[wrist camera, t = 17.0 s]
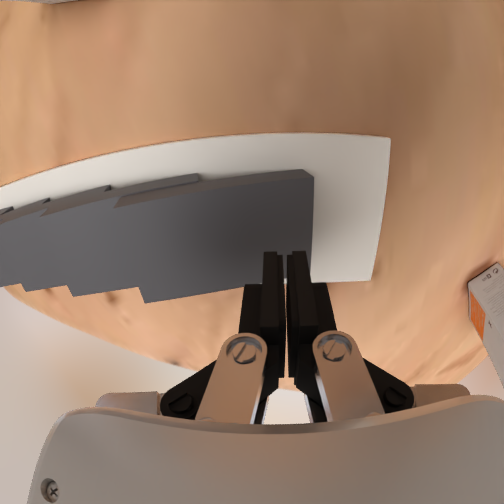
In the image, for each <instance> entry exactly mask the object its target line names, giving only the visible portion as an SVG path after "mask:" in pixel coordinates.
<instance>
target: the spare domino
mask: <svg viewBox="0 0 504 504" xmlns="http://www.w3.org/2000/svg"><path fill="white" fill-rule="evenodd" d="M110 190H111V187H110V185H106V186H102V187H98V188H94V189H90V190H87V191H83V192H80V193H76V194H73V195H69V196H66V197H62V198H59V199H56V200H53V201H50V202H46V203H43V204H40V205H37V206H34V207H32V208H29V209H26V210H23V211H20V212H18V213H15V214H12V215H9V216H7V217H5V218H4V219H3V220H2V221H1V222H0V239H1V241H2V244H3V246H4V249H5V251H6V253H7V255H8V258H9V260H10V262H11V264H12V266H13V268H14V270H15V272H16V274H17V276H18V278H19V280H20V282H21V284H22V286H23V288H24V289H25V291H26V292H28V291H34V290H40V289H46V288H52V287H58V286H64V285H67V284H66V282H65V280H64V278H63V275H62V273H61V271H60V269H59V267H58V265H57V262H56V260H55V258H54V256H53V253H52V251H51V248H50V246H49V243H48V241H47V238H46V236H45V233H44V231H43V228H42V225H41V222H40V220H39V217H40V216H41V215H42V214H43V213H44V212H45V211H46V210H47V209H48V208H49V207H52V206H55V205H58V204H61V203H65V202H68V201H72V200H75V199H79V198H83V197H86V196H90V195H94V194H98V193H102V192H106V191H110Z"/></svg>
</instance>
